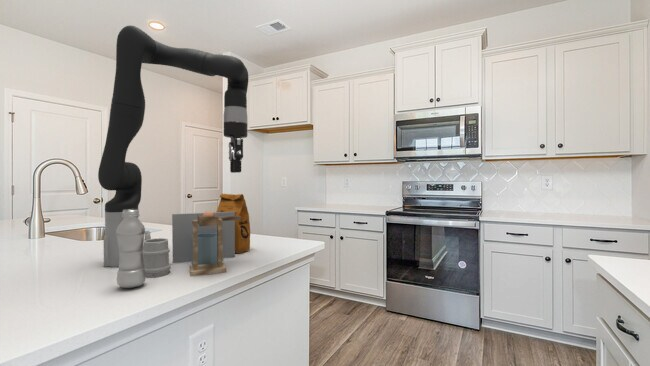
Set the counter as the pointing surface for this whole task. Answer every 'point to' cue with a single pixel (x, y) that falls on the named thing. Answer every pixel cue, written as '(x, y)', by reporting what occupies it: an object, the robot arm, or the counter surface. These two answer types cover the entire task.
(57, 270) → the counter surface
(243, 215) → the coffee package
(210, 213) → the ball
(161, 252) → the mug
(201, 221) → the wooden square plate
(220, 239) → the stand
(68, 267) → the counter surface
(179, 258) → the backboard
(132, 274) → the plastic bottle
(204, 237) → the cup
